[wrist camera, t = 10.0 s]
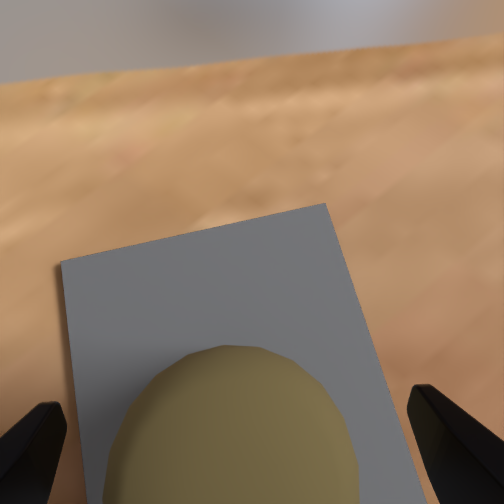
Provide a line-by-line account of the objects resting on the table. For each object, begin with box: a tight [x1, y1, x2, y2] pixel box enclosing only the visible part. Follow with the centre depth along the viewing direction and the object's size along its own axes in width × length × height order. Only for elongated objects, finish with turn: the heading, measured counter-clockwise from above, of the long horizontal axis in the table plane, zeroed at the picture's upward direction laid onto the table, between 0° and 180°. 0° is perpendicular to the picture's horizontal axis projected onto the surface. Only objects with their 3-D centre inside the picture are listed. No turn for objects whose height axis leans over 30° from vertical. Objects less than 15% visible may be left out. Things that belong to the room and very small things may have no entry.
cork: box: [102, 345, 360, 504], centre depth 11 cm, size 6×6×11 cm
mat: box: [61, 203, 427, 504], centre depth 17 cm, size 18×14×1 cm
